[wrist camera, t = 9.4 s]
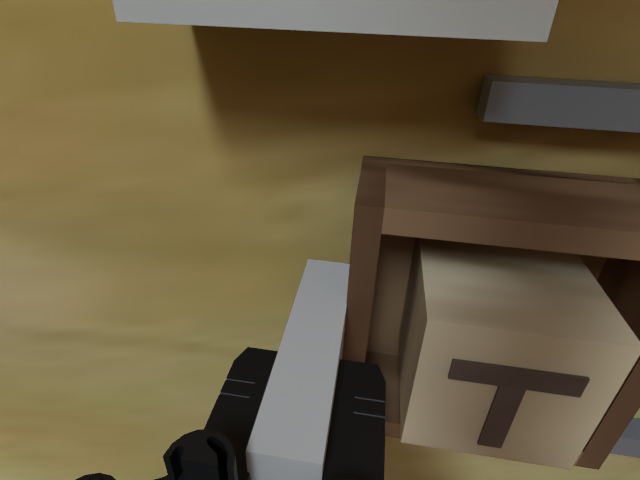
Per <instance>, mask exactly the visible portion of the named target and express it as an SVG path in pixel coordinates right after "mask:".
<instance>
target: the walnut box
mask: <svg viewBox="0 0 640 480" xmlns="http://www.w3.org/2000/svg"><path fill="white" fill-rule="evenodd" d="M416 237H417V238H427V239H436V240H446V241H455V242H465V243H475V244H484V245H494V246H503V247H513V248H522V249H532V250H542V251H551V252H561V253H570V254H578V255H579V256H580V258H581V259H582V261H583V262H584V264H585V265H586V266H587V268H588V269H589V271H590V272H591V273H592V275H593V276H594V278H595V279H596V280H597V282H598V283H599V285H600V286H601V287H602V289H603V290H604V292H605V293H606V295H607V296H608V297H609V299H610V300H611V302H612V303H613V304H614V306H615V307H616V309H617V310H618V311H619V313H620V314H621V316H622V317H623V319H624V320H625V321H626V323H627V324H628V326H629V327H630V328H631V330H632V331H633V333H634V334H635V335H636V337H637V338H638V340H639V341H640V179H635V178H623V177H611V176H599V175H587V174H575V173H563V172H551V171H539V170H527V169H515V168H503V167H491V166H479V165H467V164H455V163H443V162H431V161H419V160H408V159H396V158H384V157H372V156H364V157H363V163H362V168H361V174H360V179H359V184H358V190H357V195H356V201H355V207H354V219H353V231H352V242H351V254H350V266H349V278H348V289H347V301H346V304H347V308H346V319H345V330H344V342H343V353H342V360H350V361H357V362H364V363H371V364H378V366H379V368H380V370H381V372H382V374H383V376H384V379H385V381H386V400H385V436H391V437H397V438H401V432H400V364H399V328H400V323H401V317H402V312H403V306H404V300H405V295H406V289H407V283H408V278H409V272H410V266H411V261H412V255H413V249H414V244H415V238H416ZM639 408H640V356H639V357H638V359H637V361H636V362H635V364H634V366H633V367H632V369H631V371H630V372H629V374H628V376H627V377H626V379H625V380H624V382H623V384H622V385H621V387H620V389H619V390H618V392H617V394H616V395H615V397H614V399H613V400H612V402H611V404H610V405H609V407H608V409H607V410H606V412H605V414H604V415H603V417H602V419H601V420H600V422H599V424H598V425H597V427H596V429H595V430H594V432H593V434H592V435H591V437H590V439H589V440H588V442H587V444H586V445H585V447H584V449H583V450H582V452H581V454H580V455H579V457H578V459H577V460H576V462H575V464H574V465H573V466H580V467H586V468H592V469H599V468H600V467H601V465H602V464H603V462H604V461H605V459H606V458H607V456H608V455H609V453H610V452H611V450H612V449H613V447H614V446H615V444H616V443H617V441H618V440H619V438H620V437H621V435H622V434H623V432H624V431H625V429H626V428H627V426H628V425H629V423H630V422H631V420H632V418H633V417H634V415H635V414H636V412H637V411H638V409H639Z"/></svg>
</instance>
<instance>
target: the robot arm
mask: <svg viewBox="0 0 640 480" xmlns="http://www.w3.org/2000/svg"><path fill="white" fill-rule="evenodd" d="M349 266H350V264H346V263H337V262H329V261H320V260H312V259H308V261H307V264H306V267H305V270H304V273H303V276H302V279H301V282H300V285H299V289H298V292H297V295H296V298H295V301H294V304H293V307H292V310H291V313H290V316H289V319H288V322H287V325H286V328H285V332H284V335H283V338H282V341H281V344H280V347H279V350H278V351H271V350H264V349H257V348H250V347H248V348H247V349H246V350H245V351H244V352H242V353H241V354H240V355H239V356H238V357H237V358H236V359H235V360H234V362H233V364H232V367H231V369H230V371H229V373H228V376H227V380H226V381H225V383H224V385H223V387H222V389H221V393H220V395H219V396H218V399H217V401H216V403H215V405H214V408H213V410H212V412H211V414H210V417H209V419H208V421H207V424H206V426H205V428H204V430H196V431H193V432H190V433H187V434H185V435H183V436H182V437H180V438H179V439H178V440H176V441H175V442H174V443H172V444H171V446H170V447H169V449H168V450H167V451H166V453H165V454H164V455H163V458H164V462H165V466H166V469H167V473H168V475H167V476H165V477H162V478H158V479H155V480H384V454H385V400H386V381H385V379H384V376H383V374H382V372H381V370H380V368H379V366H378V364H371V363H364V362H357V361H350V360H342V353H343V342H344V330H345V319H346V308H347V304H346V301H347V289H348V278H349ZM76 480H115V479H114V478H113V477H112V476H111V475H106V474H102V473H96V474H89V475H84V476H82V477H80V478H78V479H76Z"/></svg>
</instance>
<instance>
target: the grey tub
mask: <svg viewBox="0 0 640 480" xmlns="http://www.w3.org/2000/svg"><path fill="white" fill-rule="evenodd" d="M112 1H113V6H114V12H115V17H116V21H117V22H138V23H158V24H179V25H200V26H220V27H241V28H262V29H282V30H303V31H324V32H344V33H365V34H386V35H407V36H427V37H448V38H469V39H489V40H510V41H531V42H547V40H548V36H549V33H550V29H551V26H552V22H553V19H554V15H555V12H556V8H557V5H558V1H559V0H112Z"/></svg>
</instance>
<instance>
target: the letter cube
mask: <svg viewBox="0 0 640 480" xmlns="http://www.w3.org/2000/svg"><path fill="white" fill-rule="evenodd" d="M639 356H640V341H639V340H638V338H637V337H636V335H635V334H634V333H633V331H632V330H631V328H630V327H629V326H628V324H627V323H626V321H625V320H624V319H623V317H622V316H621V314H620V313H619V311H618V310H617V309H616V307H615V306H614V304H613V303H612V302H611V300H610V299H609V297H608V296H607V295H606V293H605V292H604V290H603V289H602V287H601V286H600V285H599V283H598V282H597V280H596V279H595V278H594V276H593V275H592V273H591V272H590V271H589V269H588V268H587V266H586V265H585V264H584V262H583V261H582V259H581V258H580V256H579V255H578V254H570V253H561V252H551V251H542V250H532V249H522V248H513V247H503V246H494V245H484V244H475V243H465V242H455V241H446V240H436V239H427V238H417V237H416V238H415V244H414V249H413V255H412V261H411V266H410V272H409V278H408V283H407V289H406V295H405V300H404V306H403V312H402V317H401V323H400V328H399V364H400V432H401V443H408V444H414V445H420V446H426V447H433V448H439V449H445V450H451V451H457V452H464V453H470V454H476V455H482V456H489V457H495V458H501V459H507V460H513V461H520V462H526V463H532V464H538V465H545V466H551V467H557V468H563V469H569V470H571V469H572V467H573V465H574V464H575V462H576V460H577V459H578V457H579V455H580V454H581V452H582V450H583V449H584V447H585V445H586V444H587V442H588V440H589V439H590V437H591V435H592V434H593V432H594V430H595V429H596V427H597V425H598V424H599V422H600V420H601V419H602V417H603V415H604V414H605V412H606V410H607V409H608V407H609V405H610V404H611V402H612V400H613V399H614V397H615V395H616V394H617V392H618V390H619V389H620V387H621V385H622V384H623V382H624V380H625V379H626V377H627V376H628V374H629V372H630V371H631V369H632V367H633V366H634V364H635V362H636V361H637V359H638V357H639Z"/></svg>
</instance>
